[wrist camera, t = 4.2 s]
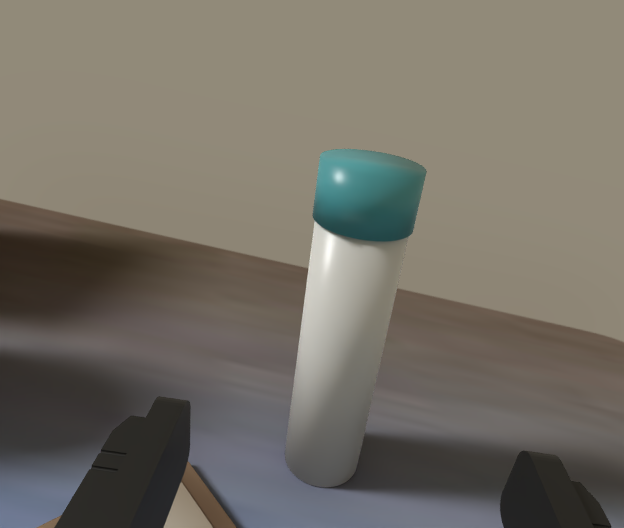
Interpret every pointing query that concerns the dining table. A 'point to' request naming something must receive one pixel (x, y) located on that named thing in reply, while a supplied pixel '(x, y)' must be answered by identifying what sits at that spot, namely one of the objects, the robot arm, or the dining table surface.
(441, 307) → the dining table surface
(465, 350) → the dining table surface
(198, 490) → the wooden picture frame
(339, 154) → the marker
